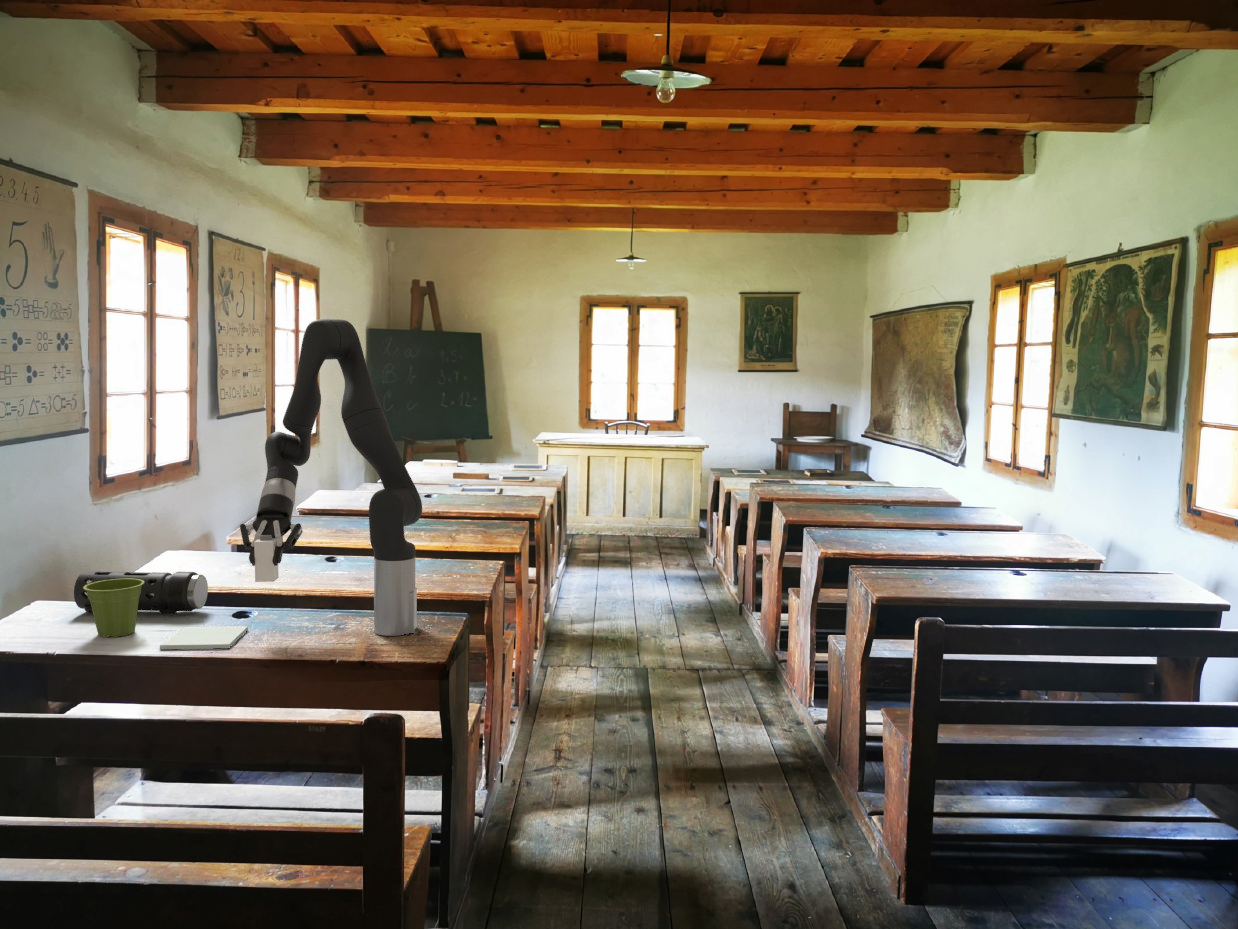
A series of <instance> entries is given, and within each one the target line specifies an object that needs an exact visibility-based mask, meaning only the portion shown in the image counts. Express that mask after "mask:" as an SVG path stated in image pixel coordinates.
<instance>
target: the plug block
mask: <svg viewBox="0 0 1238 929" xmlns="http://www.w3.org/2000/svg"><path fill="white" fill-rule="evenodd" d="M276 541H277V539H276V538H273V539H272V535H260V539H258V540H256V541H255V542H254V554H255V566H254V579H255V580H254V582H255V583H268V582H269V583H270V582H272V583H273V582H275V581H277V579H279V564H278V565H277V566H274V564H273V561H272V560H273V556H274V551H275V547H277V545H276Z"/></svg>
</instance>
